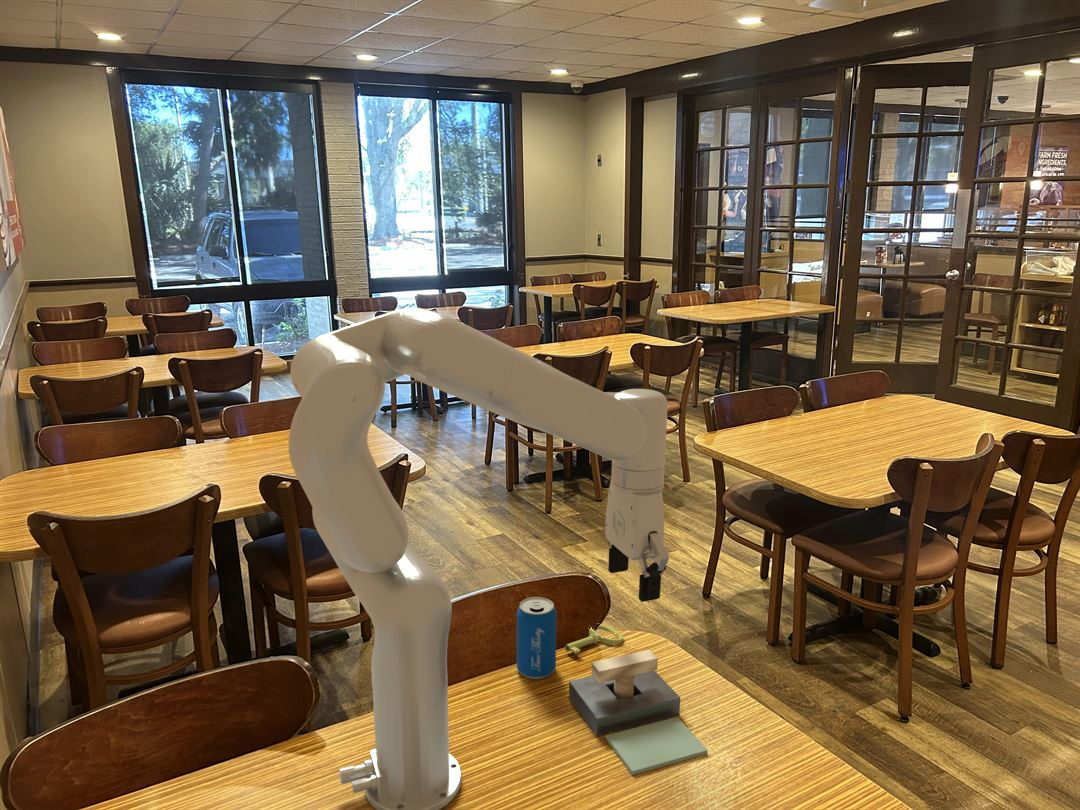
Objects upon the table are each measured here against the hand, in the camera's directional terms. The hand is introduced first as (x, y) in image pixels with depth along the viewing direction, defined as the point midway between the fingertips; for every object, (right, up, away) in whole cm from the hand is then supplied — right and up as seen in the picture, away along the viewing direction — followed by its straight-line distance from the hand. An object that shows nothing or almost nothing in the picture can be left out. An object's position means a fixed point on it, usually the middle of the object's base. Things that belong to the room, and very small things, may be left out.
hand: (633, 584), depth 114 cm
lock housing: (-1, -20, +5) cm, 21 cm away
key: (-4, -16, +23) cm, 29 cm away
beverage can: (-14, -18, +14) cm, 27 cm away
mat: (+3, -22, -4) cm, 23 cm away
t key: (-1, -20, +5) cm, 21 cm away
